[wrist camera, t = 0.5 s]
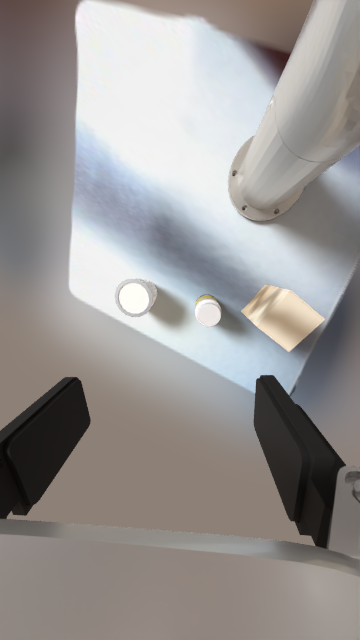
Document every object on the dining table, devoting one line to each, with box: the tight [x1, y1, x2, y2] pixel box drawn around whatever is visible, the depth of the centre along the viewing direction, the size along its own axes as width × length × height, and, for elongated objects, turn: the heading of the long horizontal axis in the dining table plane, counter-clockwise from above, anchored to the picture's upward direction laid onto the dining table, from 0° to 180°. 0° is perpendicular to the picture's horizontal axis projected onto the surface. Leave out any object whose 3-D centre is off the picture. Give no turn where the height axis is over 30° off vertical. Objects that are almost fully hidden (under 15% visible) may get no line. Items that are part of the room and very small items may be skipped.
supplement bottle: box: [195, 295, 221, 327], centre depth 33 cm, size 5×5×8 cm
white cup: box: [115, 279, 157, 317], centre depth 34 cm, size 7×7×7 cm
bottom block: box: [241, 285, 276, 319], centre depth 34 cm, size 7×7×5 cm
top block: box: [248, 287, 325, 352], centre depth 29 cm, size 7×7×5 cm
